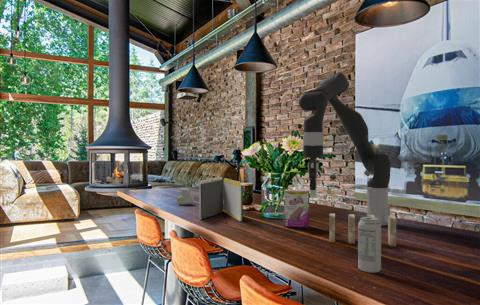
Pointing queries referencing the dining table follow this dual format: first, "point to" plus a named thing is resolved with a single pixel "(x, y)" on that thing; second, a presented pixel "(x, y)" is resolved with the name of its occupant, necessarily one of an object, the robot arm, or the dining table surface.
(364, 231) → the energy drink can
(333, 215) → the domino
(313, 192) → the domino
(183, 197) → the air freshener
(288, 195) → the candy bar box
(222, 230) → the dining table surface
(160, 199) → the dining table surface
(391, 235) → the domino
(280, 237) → the dining table surface
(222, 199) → the grey folded panel
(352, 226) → the domino
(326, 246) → the dining table surface
